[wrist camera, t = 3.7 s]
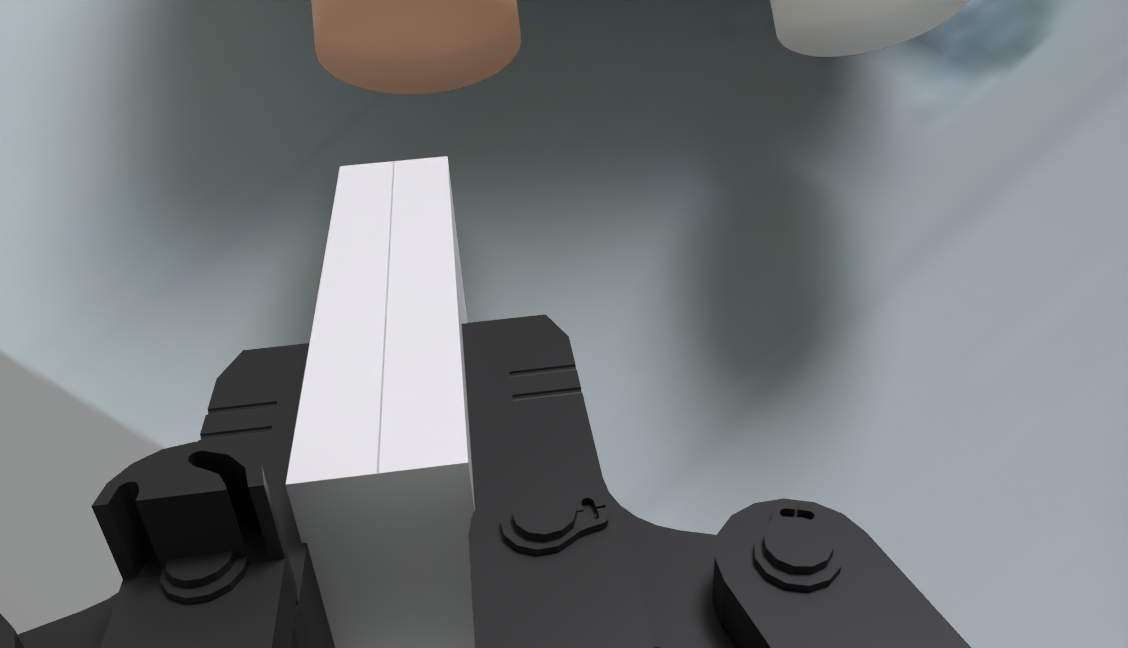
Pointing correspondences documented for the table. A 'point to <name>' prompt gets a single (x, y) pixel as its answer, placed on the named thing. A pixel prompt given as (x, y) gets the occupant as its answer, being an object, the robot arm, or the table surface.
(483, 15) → the knob
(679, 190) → the table surface
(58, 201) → the table surface
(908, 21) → the knob
